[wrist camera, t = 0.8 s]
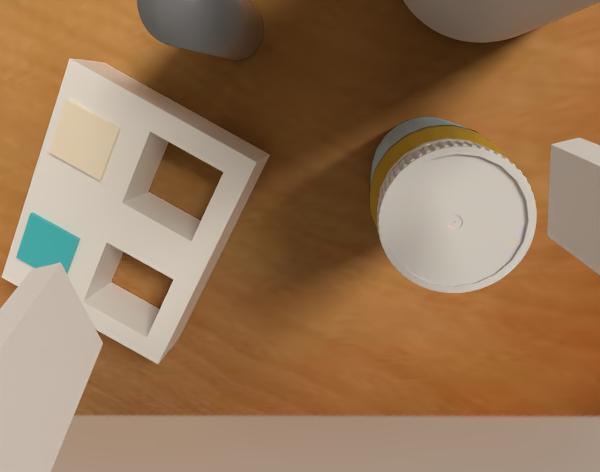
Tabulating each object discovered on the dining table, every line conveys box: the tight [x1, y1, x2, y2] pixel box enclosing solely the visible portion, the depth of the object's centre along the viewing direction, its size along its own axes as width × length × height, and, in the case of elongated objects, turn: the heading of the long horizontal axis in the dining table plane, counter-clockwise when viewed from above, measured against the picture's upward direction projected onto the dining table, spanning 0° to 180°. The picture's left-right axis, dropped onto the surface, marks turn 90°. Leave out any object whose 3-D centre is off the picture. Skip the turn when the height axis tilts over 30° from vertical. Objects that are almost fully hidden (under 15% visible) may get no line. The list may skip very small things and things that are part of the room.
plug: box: [137, 0, 264, 60], centre depth 27 cm, size 4×4×10 cm
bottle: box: [369, 117, 536, 293], centre depth 26 cm, size 7×7×15 cm
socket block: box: [2, 58, 270, 364], centre depth 35 cm, size 14×18×4 cm
